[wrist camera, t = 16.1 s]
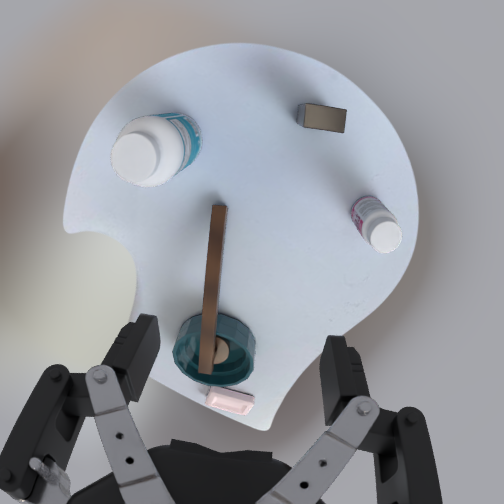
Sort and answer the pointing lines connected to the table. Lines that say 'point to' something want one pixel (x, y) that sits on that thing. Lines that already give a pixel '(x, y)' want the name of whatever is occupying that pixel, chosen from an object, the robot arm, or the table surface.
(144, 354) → the robot arm
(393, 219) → the pill bottle
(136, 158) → the pill bottle
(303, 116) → the dark grey rubber eraser
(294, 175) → the table surface
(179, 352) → the bowl
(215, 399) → the soap bar
